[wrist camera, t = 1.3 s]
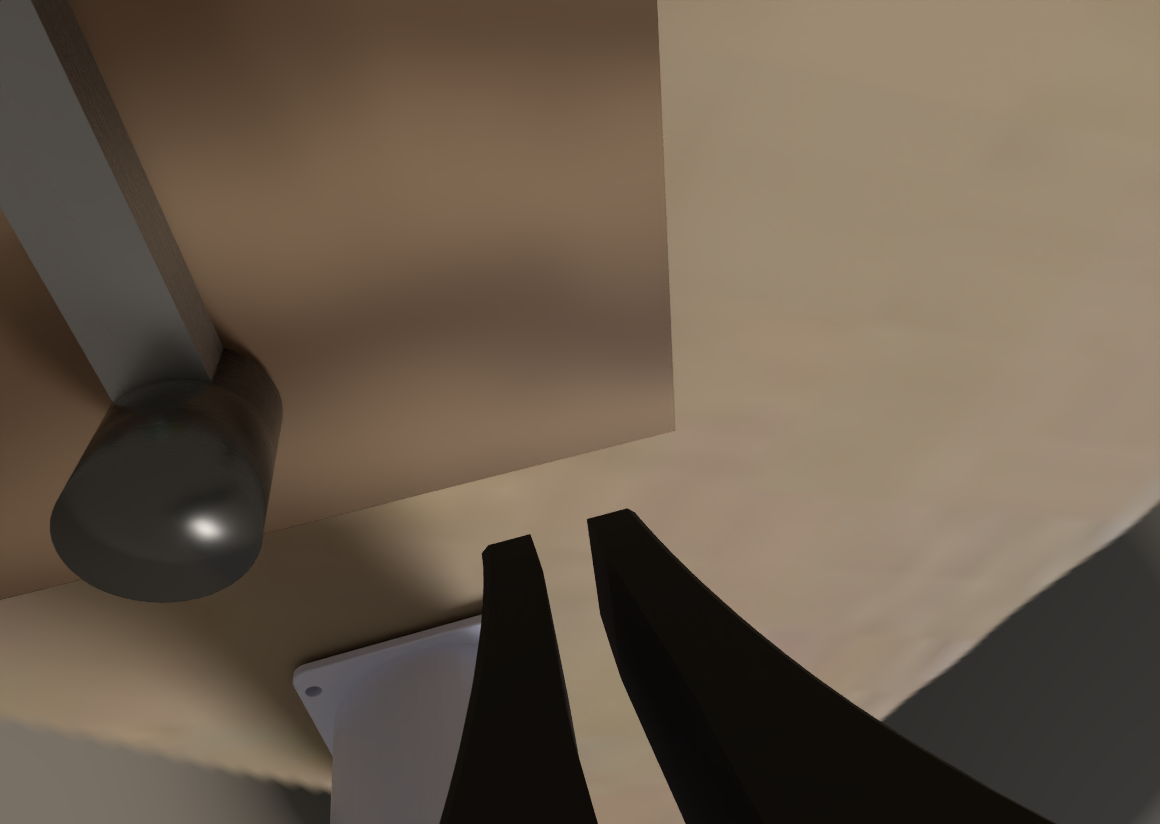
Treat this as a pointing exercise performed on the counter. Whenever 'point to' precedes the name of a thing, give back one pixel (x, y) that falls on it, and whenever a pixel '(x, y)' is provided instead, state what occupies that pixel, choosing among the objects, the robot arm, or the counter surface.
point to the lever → (129, 335)
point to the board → (377, 242)
